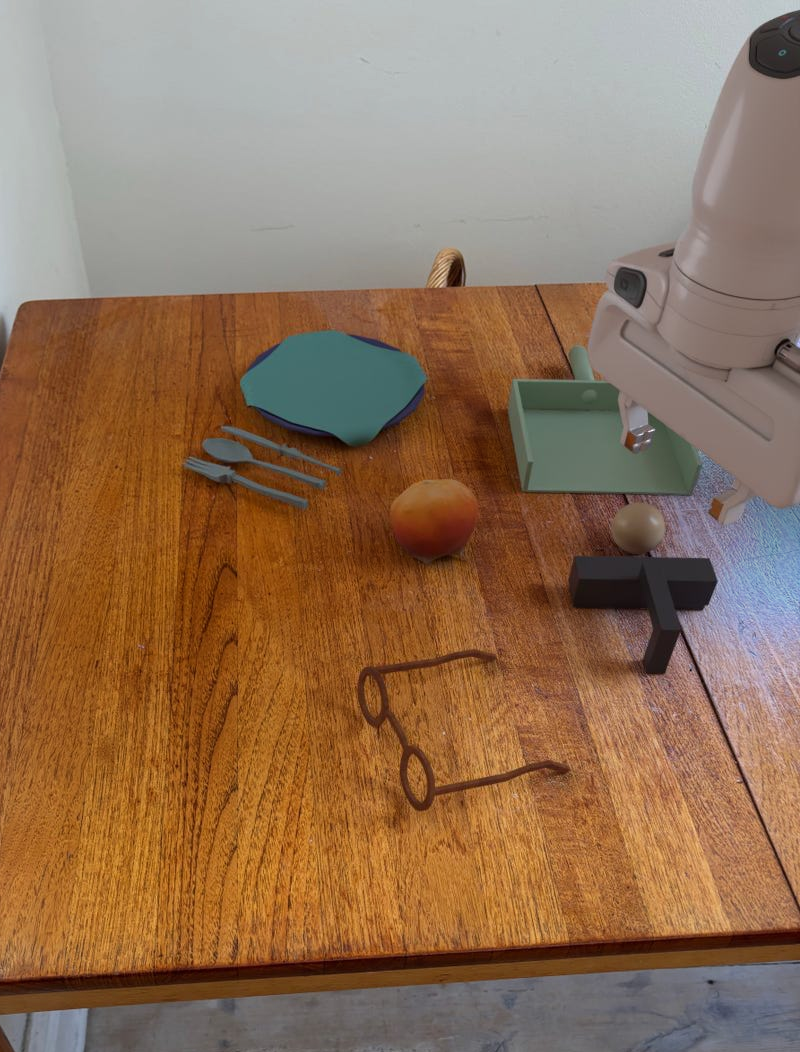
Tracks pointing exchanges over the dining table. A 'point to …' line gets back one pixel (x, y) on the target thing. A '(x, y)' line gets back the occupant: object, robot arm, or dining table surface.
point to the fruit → (434, 518)
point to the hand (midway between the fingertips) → (677, 481)
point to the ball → (638, 528)
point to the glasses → (415, 750)
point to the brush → (645, 593)
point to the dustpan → (591, 440)
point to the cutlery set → (319, 400)
